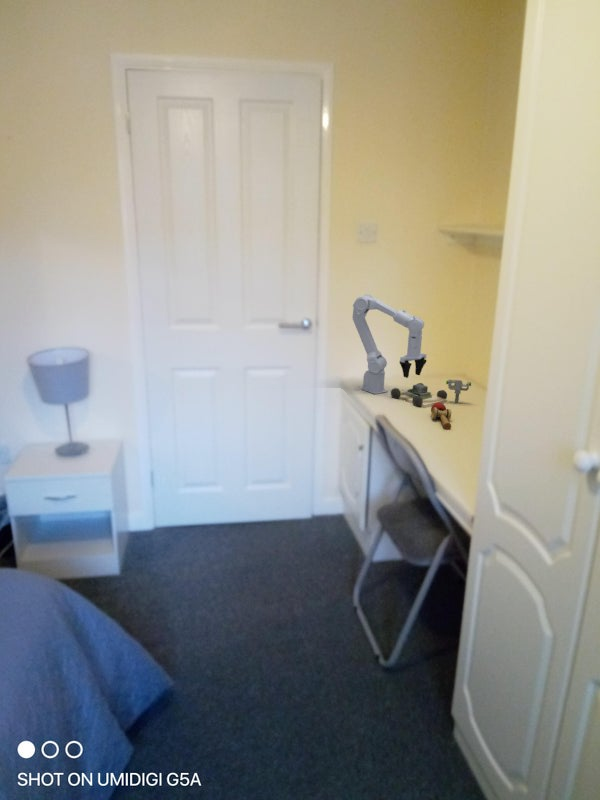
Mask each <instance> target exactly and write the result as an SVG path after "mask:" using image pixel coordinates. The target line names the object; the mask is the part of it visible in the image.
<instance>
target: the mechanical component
mask: <svg viewBox="0 0 600 800" xmlns="http://www.w3.org/2000/svg"><path fill="white" fill-rule="evenodd" d="M445 382H446V383H445V385H447V387H448V389H449V390H451V391H453V390H454V394H455V397H454V404H456V403H458V404H459V401H460V395H461V391H463V392H464V391H465V392H467V391H468V390H469V388H470V387H471V386H472V382H471V381H467V383H466V384H464V383H463V381H462V380H459V379H448V380H446V381H445ZM463 387H464V388H463ZM465 387H466V388H465Z"/></svg>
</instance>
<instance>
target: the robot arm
mask: <svg viewBox="0 0 600 800" xmlns="http://www.w3.org/2000/svg"><path fill="white" fill-rule="evenodd" d="M352 308H353V309H352V321H353V324H354V326H355V328H356V331H357V333H358V335H359V338H360V341H361V342H362V345H363V347H364V351H365V352H366V361H367V369H368V370H366V371H365V372H364V374H363V378H362V380H363V383H362V387H361V390H363V391H366V392H369V393H371V394H373V395H377V394H378V395H379V394H383V393H387V392H388V390H387V389H384V388H385V375H386V372H385V368H386V367H387V365H388V363H387V359H386V358H385V357H384V356H383V355H382V353H381V351H380V350H379V349H378V347H377V344H376V342H375V339H374V336H373V335H372V332H371V330H370V327H369V325H368V323H367V320H366V316H367V314H368V312H369V311H370V310H371V311H372V310H378V311H380V312H382V313H384V314H386V315H388V316H390V317H391V318H392V319H393V321H394V322H395V323H396V324H399V325H401V326H402V327H405V328H406V329H407V330H408V337H407V338H408V340H407V348H406V349H407V353H406V355H404V356H401V357H400V359H399V364H400V366H401V370H402V375H403V377H404V378H406V379H408V378H409V375H410V369H411V366H412V364H413V363H410V362H412V361H414V364H415V365H414V366H415V369H414V370H415V371H414V372H415V375H417V376H421V372H422V371H423V368H424V366H425V365H426V363H427V354H426V353H421V351H422V339H423V336H422V334H423V328H424V327H425V322H424V319H422V318H421V317H416V315H413V314H410V313H409V312H407V310H406V309H398V310H396V309H395V308H393V307H392V306H390V305H388V304H386V303H385V302H383V301H382V300H381V299H378V298H377V297H375V296H372V295H371V294H364V295H362V296H359V297H356V299H355V301H354V303H353V304H352Z"/></svg>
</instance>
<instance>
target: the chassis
mask: <svg viewBox="0 0 600 800" xmlns="http://www.w3.org/2000/svg"><path fill="white" fill-rule="evenodd" d="M417 384H421V385H424V384H423V383H422V382H420V383H417ZM412 391H413V388H409V389H405V390H400V389H399V388H398V387H397V388H396V387H395V388H392V389H391V390H390V396H391V397H392V398H393V399H399V400H401V399H402V401H404V400H405V401H404V402H407V401H408V403H410V402H411V403H410V404H413V406H414V407H422V408H423V409H425V408H429V407H430V408H431V407H432V405H433V404H435V403H438V402H439V403H442V404H445V402H446V403H447V402H448V401H447V398H448V393H447V391H446V390H444V389H441V390H438V391H437V392H436V395H433V394H432V393H431V392H430V391H427V392H426V393H422V394H420V396H418V395H416V394H413V393H412Z"/></svg>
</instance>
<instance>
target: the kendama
mask: <svg viewBox="0 0 600 800" xmlns="http://www.w3.org/2000/svg"><path fill="white" fill-rule="evenodd" d="M430 413H431V418H432V419H437V418H440V421H441V424H442V426H443V429H444V430H450V429H451V428H452V424H451V422H450V420H451V418H452V409H450V408H447V407H446V405H445V403H439V402H438V403H435V404H433V405H432V406H430Z"/></svg>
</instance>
